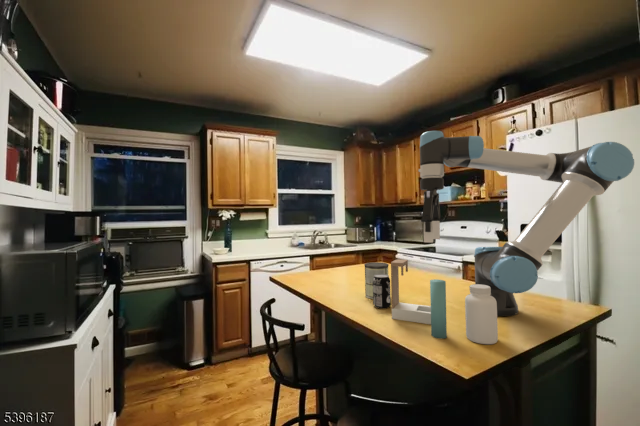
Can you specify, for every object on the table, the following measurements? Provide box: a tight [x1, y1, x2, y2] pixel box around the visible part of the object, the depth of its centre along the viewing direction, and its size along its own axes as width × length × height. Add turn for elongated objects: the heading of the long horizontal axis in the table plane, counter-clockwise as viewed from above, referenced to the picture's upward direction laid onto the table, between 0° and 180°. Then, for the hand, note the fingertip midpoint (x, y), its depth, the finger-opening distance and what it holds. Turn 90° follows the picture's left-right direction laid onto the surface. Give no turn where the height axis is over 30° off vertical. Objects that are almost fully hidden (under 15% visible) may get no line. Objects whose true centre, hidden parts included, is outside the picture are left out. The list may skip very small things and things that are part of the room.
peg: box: [429, 278, 448, 340], centre depth 88 cm, size 4×4×16 cm
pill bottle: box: [464, 283, 499, 345], centre depth 86 cm, size 8×8×15 cm
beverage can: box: [372, 274, 392, 310], centre depth 117 cm, size 7×7×12 cm
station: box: [390, 258, 431, 325], centre depth 104 cm, size 14×8×19 cm, turn 62°
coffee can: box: [364, 261, 389, 300], centre depth 132 cm, size 10×10×14 cm
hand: (432, 240), depth 103 cm, fingers open, 13 cm apart
